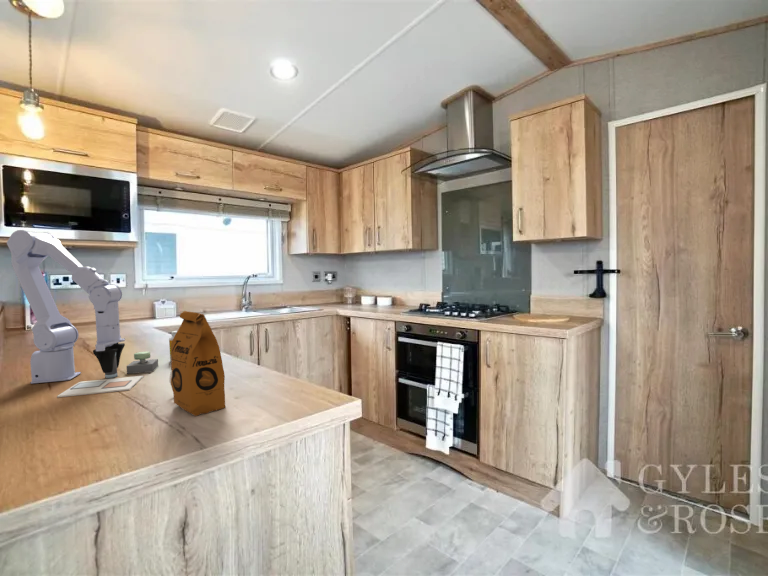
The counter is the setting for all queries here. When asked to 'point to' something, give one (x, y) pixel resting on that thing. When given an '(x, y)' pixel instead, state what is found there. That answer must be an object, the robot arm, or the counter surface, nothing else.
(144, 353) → the button
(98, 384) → the white sorting board
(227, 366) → the counter surface
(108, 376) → the grey cylinder
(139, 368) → the button housing
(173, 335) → the supplement bottle
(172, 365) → the coffee package
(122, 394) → the counter surface
